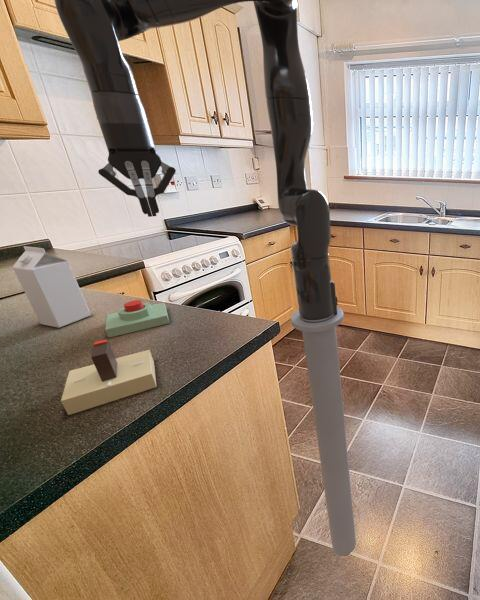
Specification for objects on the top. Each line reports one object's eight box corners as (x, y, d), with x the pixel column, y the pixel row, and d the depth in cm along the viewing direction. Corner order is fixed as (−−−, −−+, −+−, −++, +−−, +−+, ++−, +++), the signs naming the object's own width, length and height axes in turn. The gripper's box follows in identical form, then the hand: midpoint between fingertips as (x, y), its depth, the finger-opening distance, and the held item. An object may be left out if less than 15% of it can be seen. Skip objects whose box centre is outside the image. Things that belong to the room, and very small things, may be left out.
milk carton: (73, 312, 90) (42, 242, 82) (91, 316, 88) (61, 244, 80) (40, 324, 84) (3, 250, 76) (59, 328, 82) (23, 252, 74)
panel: (153, 361, 68) (149, 348, 67) (156, 387, 61) (151, 372, 60) (75, 384, 62) (68, 370, 61) (68, 415, 54) (60, 400, 53)
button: (143, 305, 85) (141, 299, 84) (144, 310, 82) (142, 303, 82) (126, 308, 83) (123, 302, 82) (125, 314, 80) (123, 307, 80)
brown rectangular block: (116, 377, 59) (105, 351, 57) (101, 381, 58) (90, 355, 55) (117, 362, 63) (107, 338, 61) (103, 366, 62) (93, 342, 60)
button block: (166, 309, 91) (162, 296, 90) (169, 323, 84) (164, 308, 82) (110, 321, 85) (104, 307, 83) (108, 337, 77) (102, 322, 76)
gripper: (74, 119, 57) (111, 222, 64) (167, 122, 64) (190, 215, 71) (80, 122, 62) (113, 217, 69) (164, 124, 69) (186, 210, 76)
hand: (152, 215), depth 70 cm, fingers closed
